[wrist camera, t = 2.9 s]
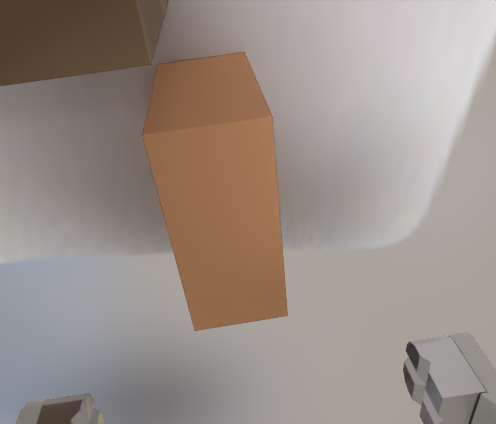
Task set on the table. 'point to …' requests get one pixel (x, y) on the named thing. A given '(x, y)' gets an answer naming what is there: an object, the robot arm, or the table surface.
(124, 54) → the small wooden table
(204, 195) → the tan cardboard brick
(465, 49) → the table surface
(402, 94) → the table surface
